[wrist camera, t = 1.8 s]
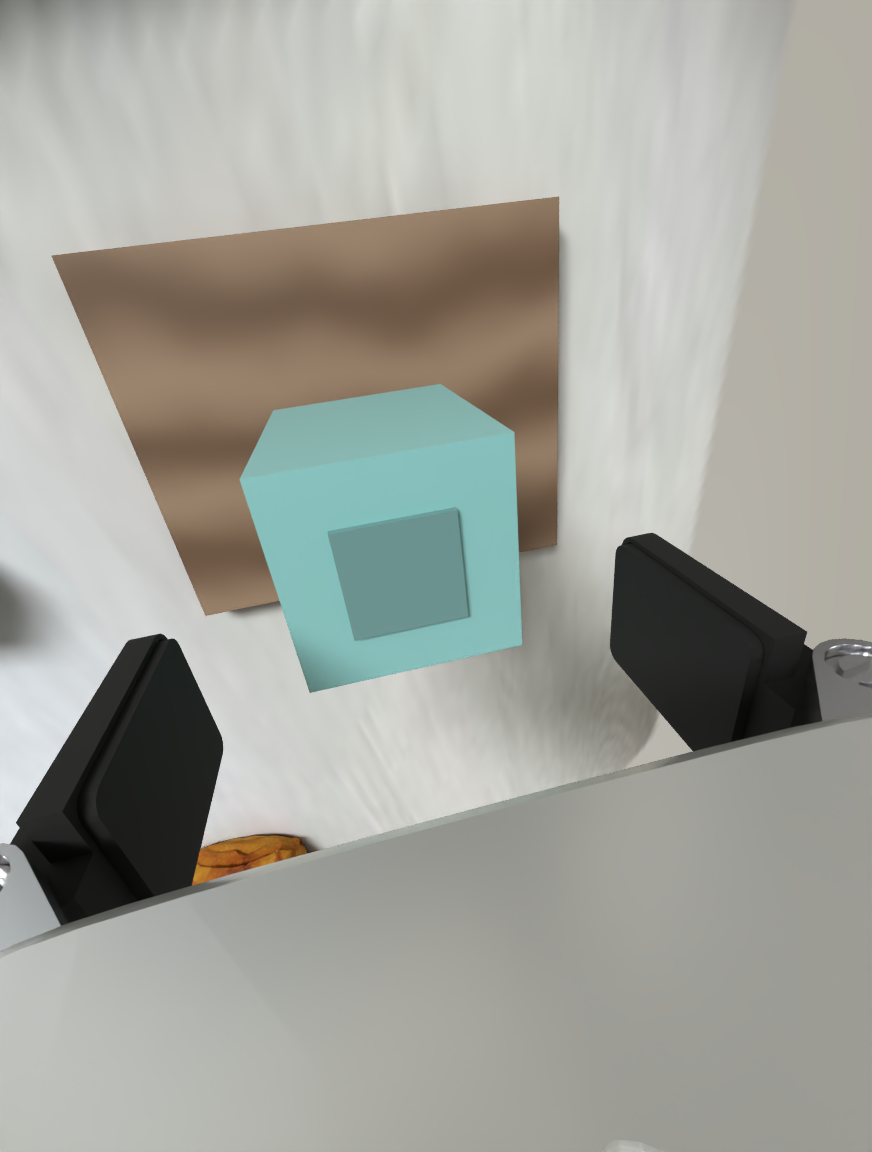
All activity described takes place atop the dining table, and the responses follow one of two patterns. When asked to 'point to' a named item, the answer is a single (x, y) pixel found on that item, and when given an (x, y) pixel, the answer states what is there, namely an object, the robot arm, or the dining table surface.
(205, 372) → the stud board
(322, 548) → the teal block
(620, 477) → the dining table surface
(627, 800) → the robot arm
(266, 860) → the croissant
